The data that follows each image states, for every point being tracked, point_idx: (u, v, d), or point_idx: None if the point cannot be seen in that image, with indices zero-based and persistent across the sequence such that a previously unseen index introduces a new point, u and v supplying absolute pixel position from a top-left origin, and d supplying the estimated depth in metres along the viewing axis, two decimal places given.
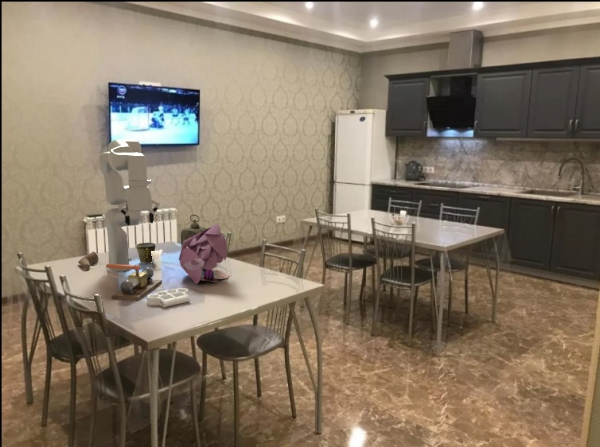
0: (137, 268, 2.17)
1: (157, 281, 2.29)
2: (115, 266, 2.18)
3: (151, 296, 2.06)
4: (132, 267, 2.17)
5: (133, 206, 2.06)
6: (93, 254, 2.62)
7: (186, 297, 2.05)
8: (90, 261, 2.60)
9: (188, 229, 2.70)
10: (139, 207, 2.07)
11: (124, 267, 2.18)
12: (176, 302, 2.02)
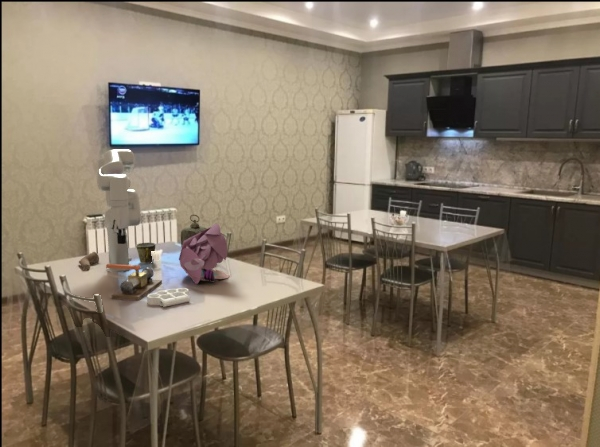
0: (137, 268, 2.17)
1: (157, 281, 2.29)
2: (115, 266, 2.18)
3: (151, 296, 2.06)
4: (132, 267, 2.17)
5: (122, 224, 2.19)
6: (94, 254, 2.62)
7: (186, 297, 2.05)
8: (90, 261, 2.60)
9: (188, 229, 2.70)
10: (124, 225, 2.22)
11: (124, 267, 2.18)
12: (176, 302, 2.02)
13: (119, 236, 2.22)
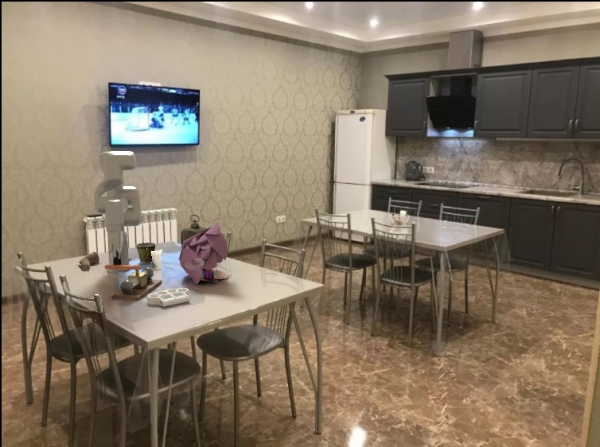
0: (137, 268, 2.17)
1: (157, 281, 2.29)
2: (114, 267, 2.17)
3: (151, 295, 2.07)
4: (132, 267, 2.17)
5: (120, 248, 2.17)
6: (94, 254, 2.62)
7: (186, 297, 2.05)
8: (91, 261, 2.60)
9: (188, 229, 2.70)
10: (121, 248, 2.20)
11: (124, 267, 2.17)
12: (176, 302, 2.02)
13: (116, 260, 2.19)
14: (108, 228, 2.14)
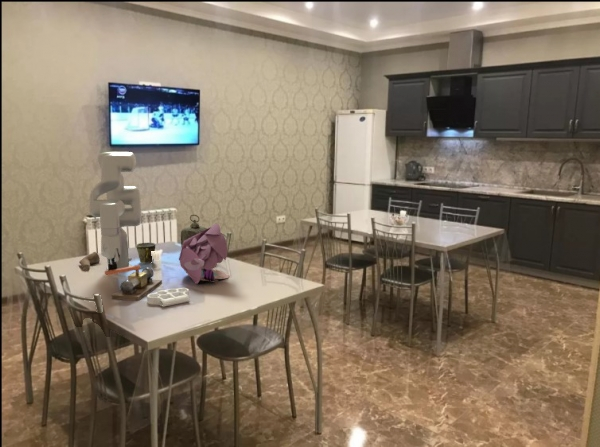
0: (139, 267, 2.18)
1: (157, 281, 2.29)
2: (116, 271, 2.11)
3: (151, 295, 2.07)
4: (134, 268, 2.16)
5: None
6: (94, 254, 2.61)
7: (186, 297, 2.05)
8: (91, 261, 2.60)
9: (188, 229, 2.70)
10: None
11: (126, 270, 2.14)
12: (175, 302, 2.02)
13: (113, 265, 2.12)
14: (108, 232, 2.06)
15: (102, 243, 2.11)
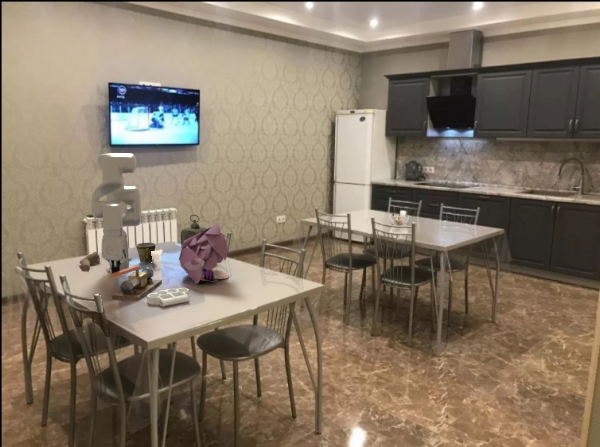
0: None
1: (157, 281, 2.29)
2: (122, 272, 2.09)
3: (151, 295, 2.07)
4: (136, 268, 2.16)
5: None
6: (94, 254, 2.61)
7: (186, 297, 2.05)
8: (91, 261, 2.60)
9: (188, 229, 2.70)
10: None
11: (129, 270, 2.13)
12: (175, 302, 2.02)
13: (117, 267, 2.09)
14: (114, 234, 2.04)
15: (104, 245, 2.07)
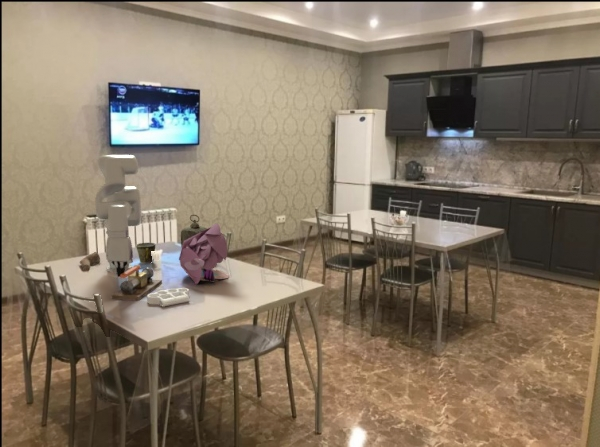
0: None
1: (157, 281, 2.29)
2: (129, 273, 2.09)
3: (151, 295, 2.07)
4: (137, 268, 2.16)
5: None
6: (95, 254, 2.61)
7: (185, 297, 2.05)
8: (91, 261, 2.60)
9: (188, 229, 2.70)
10: None
11: (133, 270, 2.13)
12: (175, 302, 2.02)
13: (123, 268, 2.08)
14: (122, 235, 2.03)
15: (110, 247, 2.04)
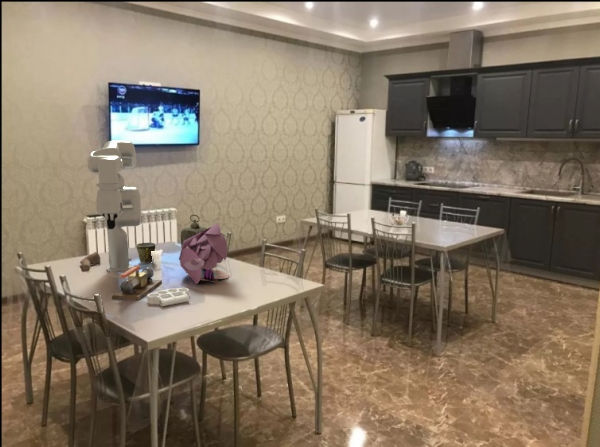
0: None
1: (157, 281, 2.29)
2: (129, 273, 2.09)
3: (151, 295, 2.07)
4: (137, 268, 2.16)
5: None
6: (95, 254, 2.61)
7: (185, 297, 2.06)
8: (92, 261, 2.59)
9: (188, 229, 2.70)
10: None
11: (133, 270, 2.13)
12: (175, 302, 2.02)
13: (114, 220, 2.14)
14: (112, 187, 2.08)
15: (101, 200, 2.09)
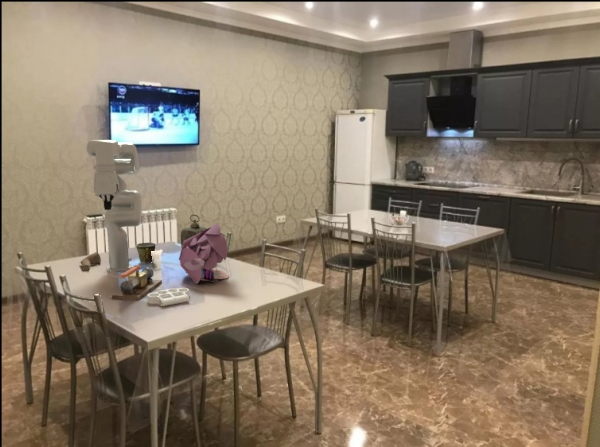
0: None
1: (157, 281, 2.29)
2: (129, 273, 2.09)
3: (151, 295, 2.08)
4: (137, 268, 2.16)
5: None
6: (95, 255, 2.61)
7: (185, 297, 2.06)
8: (92, 262, 2.59)
9: (188, 229, 2.70)
10: None
11: (133, 270, 2.13)
12: (175, 302, 2.02)
13: (110, 201, 2.22)
14: (109, 169, 2.17)
15: (97, 181, 2.18)
